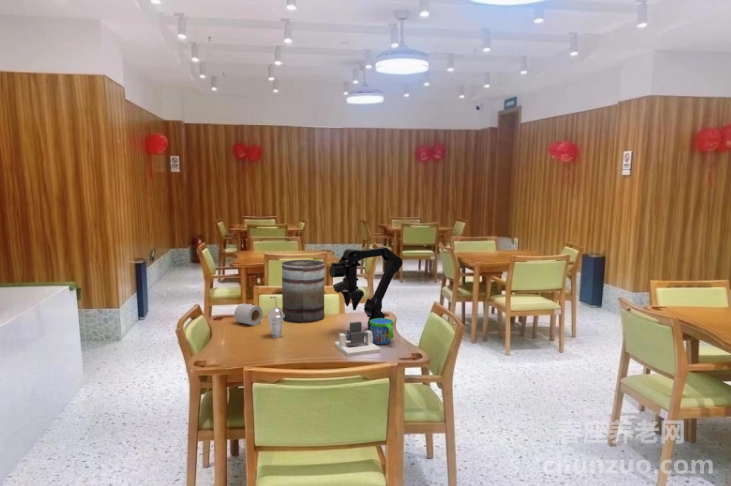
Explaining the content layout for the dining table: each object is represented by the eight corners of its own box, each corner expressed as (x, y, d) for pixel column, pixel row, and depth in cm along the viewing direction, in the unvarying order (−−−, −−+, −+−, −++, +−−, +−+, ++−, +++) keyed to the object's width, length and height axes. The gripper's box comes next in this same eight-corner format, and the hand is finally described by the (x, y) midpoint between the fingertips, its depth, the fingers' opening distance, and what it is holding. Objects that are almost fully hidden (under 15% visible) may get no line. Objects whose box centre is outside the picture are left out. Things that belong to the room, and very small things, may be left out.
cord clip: (359, 338, 222) (359, 320, 221) (364, 342, 216) (364, 323, 215) (346, 340, 219) (346, 321, 218) (351, 344, 214) (351, 324, 213)
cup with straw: (289, 336, 234) (288, 294, 231) (273, 340, 227) (272, 297, 225) (278, 332, 239) (277, 292, 237) (262, 336, 233) (261, 294, 231)
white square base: (365, 341, 227) (365, 327, 226) (380, 352, 212) (380, 337, 211) (334, 345, 221) (334, 330, 220) (347, 356, 206) (348, 341, 205)
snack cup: (363, 339, 230) (363, 317, 229) (383, 336, 235) (383, 315, 234) (379, 349, 216) (379, 326, 215) (400, 345, 221) (400, 323, 220)
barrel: (323, 312, 280) (323, 259, 277) (325, 322, 258) (325, 266, 255) (283, 313, 278) (282, 260, 274) (281, 323, 255) (280, 266, 252)
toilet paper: (262, 323, 256) (262, 304, 255) (248, 327, 248) (248, 308, 247) (248, 320, 262) (248, 301, 261) (234, 324, 253) (234, 305, 252)
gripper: (328, 273, 240) (328, 305, 241) (341, 280, 222) (341, 314, 224) (349, 272, 244) (349, 303, 246) (364, 278, 227) (364, 312, 228)
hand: (350, 308), depth 236 cm, fingers open, 9 cm apart
